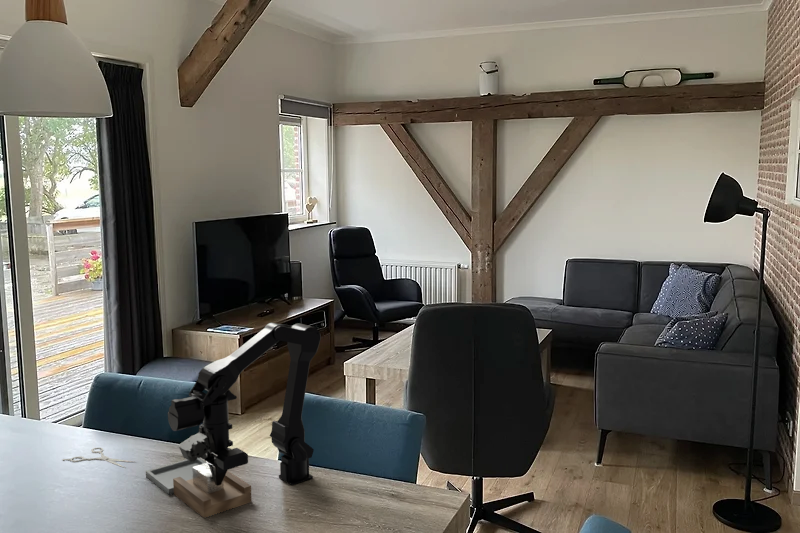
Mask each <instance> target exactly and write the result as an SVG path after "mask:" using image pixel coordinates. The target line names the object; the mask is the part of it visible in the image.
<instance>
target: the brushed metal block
mask: <svg viewBox="0 0 800 533" xmlns="http://www.w3.org/2000/svg"><path fill="white" fill-rule="evenodd" d="M200 488H201V489H202V490H203V491H205V492H206V493H208V494H209V493H212V492H215V491H218V490H221V489H224V483H223V481H222V483H221V485H218V486H217V485H216V484H215V482H214V479H213V476H212V473H211V471H210V469H209V470H206V471H202V472H200Z"/></svg>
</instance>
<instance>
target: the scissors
mask: <svg viewBox="0 0 800 533" xmlns="http://www.w3.org/2000/svg"><path fill="white" fill-rule="evenodd" d="M94 449H95V450H98V451H95V450H94ZM91 451H92V452H91ZM91 451H90V452H91V453H93V454H100V453H101V454H100V456H99V457H92V458H91V457H90V458H86V457H84V456H75V457H71V458H63V459H61V461H62V460H63V461H62V462H65V461H64V460H68V461H69V462H71V461H73V462H72V463H79V462H78V461H80V462H83V460H84V461H95V459H96V460H97V461H105V462H108V463H110V464H113V465H115V466H118V467H121V468H125V469H126V467H125V466H123V465H121V464H120V463H118V462H127V463H129V462H130V463H134V461H133V460H126V459H119V458H110V457H109V456H107V455H105V454H104V448H103V447H93V448H92V449H91ZM74 458H76V459H75V460H74ZM81 458H82V459H81ZM72 459H73V460H72Z"/></svg>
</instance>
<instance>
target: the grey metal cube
mask: <svg viewBox="0 0 800 533" xmlns="http://www.w3.org/2000/svg"><path fill="white" fill-rule="evenodd" d="M209 469H210V468H209V465H208V463H207V462H206V463H204V464H201V465H198V466H194V467H192V471H193V483H194V484H195V485H197V486H198V487H200V472H202V471H206V470H209Z"/></svg>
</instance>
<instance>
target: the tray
mask: <svg viewBox="0 0 800 533" xmlns="http://www.w3.org/2000/svg"><path fill="white" fill-rule="evenodd" d="M204 463H207V462H206V461H205V460H203V459H202V458H197V459H196V460H195V461H192V462H190V461H189V460H187V459H186V458H185V459H183V460H179V461H176V462H172V463H169V464H166V465H162V466H158V467H154V468H151V469H148V470H145V477H146V478H147V479H148V480H150V481H151V482H152V483H153V484H154V485H156V486H157V487H158V488H160V489H161V490H162V491H163V492H164V493H166V494H167V495H168V496H171V495H174V486H173V479H174V478H177V477H181V478H183V479H184V480H185V481H187V480H190V479H193V471H192V467H194V466H198V465H201V464H204Z"/></svg>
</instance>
